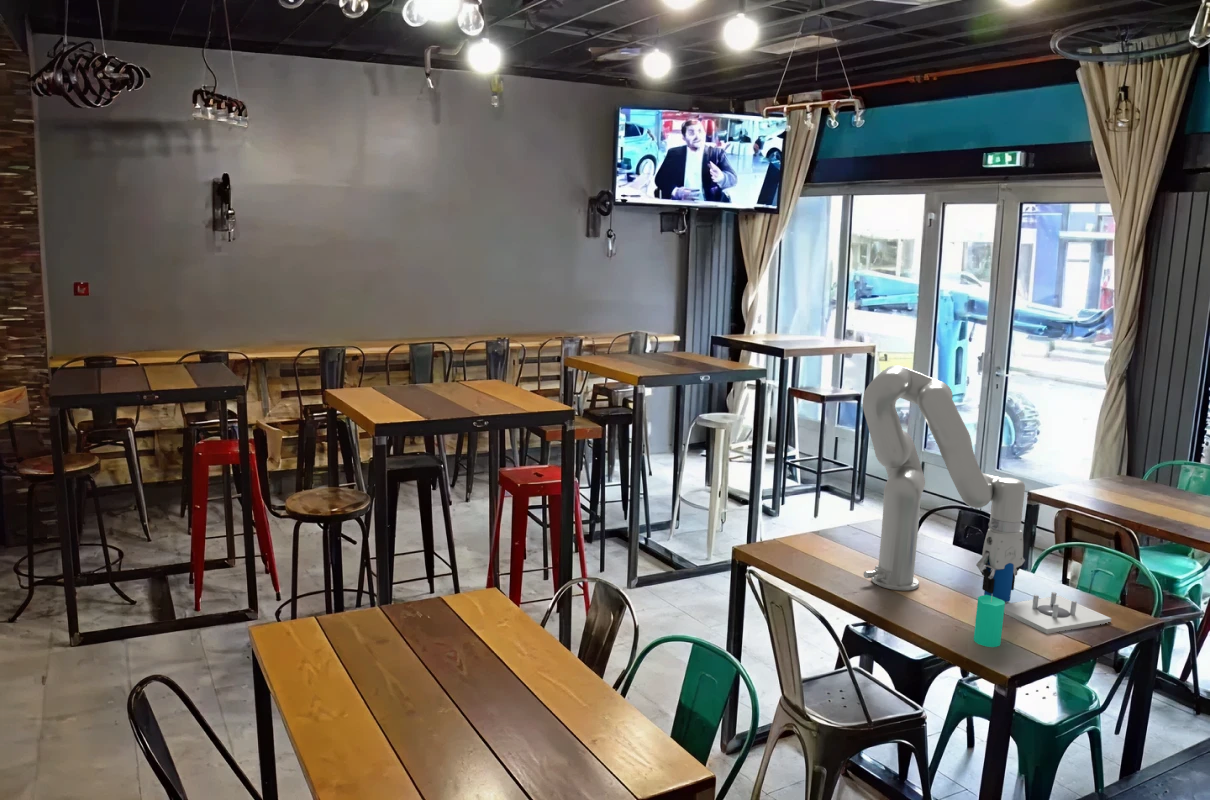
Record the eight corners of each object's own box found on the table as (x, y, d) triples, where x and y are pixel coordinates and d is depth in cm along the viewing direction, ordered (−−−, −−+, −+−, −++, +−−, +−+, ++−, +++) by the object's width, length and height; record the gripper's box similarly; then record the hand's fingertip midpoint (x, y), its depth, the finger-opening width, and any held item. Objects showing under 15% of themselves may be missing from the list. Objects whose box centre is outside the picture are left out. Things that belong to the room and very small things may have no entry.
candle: (969, 636, 227) (974, 588, 225) (994, 637, 227) (1000, 589, 225) (978, 646, 221) (983, 598, 219) (1004, 647, 221) (1010, 599, 219)
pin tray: (1046, 633, 230) (1048, 615, 229) (996, 609, 245) (998, 592, 244) (1110, 622, 239) (1113, 605, 238) (1058, 599, 253) (1060, 583, 252)
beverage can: (1013, 605, 248) (1018, 562, 246) (989, 604, 248) (993, 560, 246) (1004, 596, 254) (1008, 553, 252) (979, 595, 254) (984, 552, 252)
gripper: (990, 532, 241) (983, 598, 244) (1041, 526, 247) (1033, 591, 250) (969, 523, 248) (962, 588, 251) (1018, 518, 254) (1011, 581, 257)
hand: (997, 589), depth 250 cm, fingers closed on beverage can, 6 cm apart
